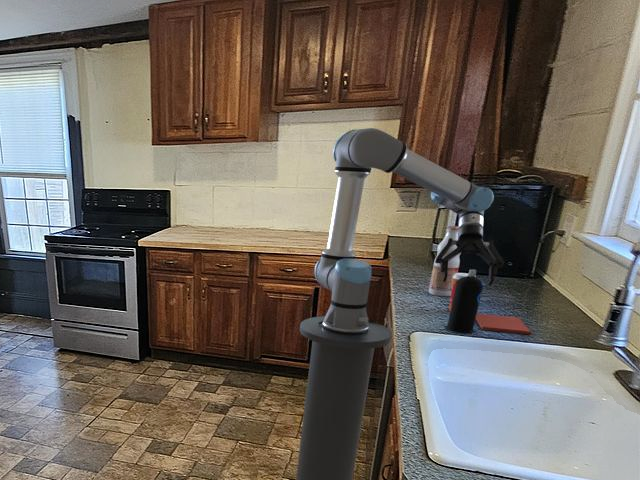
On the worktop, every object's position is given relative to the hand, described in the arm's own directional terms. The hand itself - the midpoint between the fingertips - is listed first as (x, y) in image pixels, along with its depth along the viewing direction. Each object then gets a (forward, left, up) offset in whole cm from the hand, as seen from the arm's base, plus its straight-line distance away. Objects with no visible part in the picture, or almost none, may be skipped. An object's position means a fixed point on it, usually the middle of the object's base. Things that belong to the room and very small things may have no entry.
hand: (467, 281), depth 176 cm
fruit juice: (-1, +49, -15) cm, 51 cm away
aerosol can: (0, -5, -15) cm, 16 cm away
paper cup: (+2, +20, -15) cm, 25 cm away
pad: (+14, +7, -15) cm, 22 cm away
